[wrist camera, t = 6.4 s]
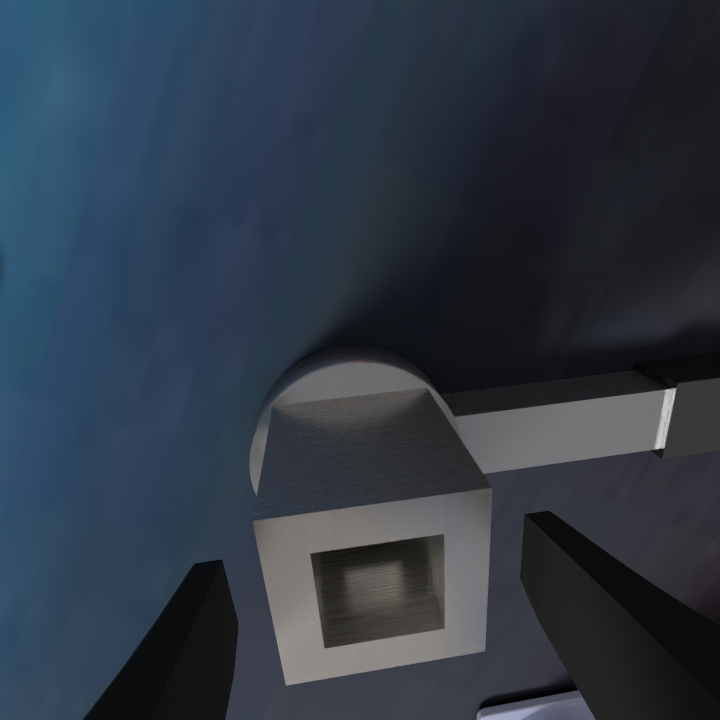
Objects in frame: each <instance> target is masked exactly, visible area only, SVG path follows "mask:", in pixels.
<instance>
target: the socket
mask: <svg viewBox="0 0 720 720" xmlns="http://www.w3.org/2000/svg"><path fill="white" fill-rule="evenodd" d="M491 508H492V486H491V485H490V483H489V482H488V480H487V479H486V477H485V476H484V474H483V473H482V471H481V469H480V468H479V466H478V465H477V463H476V462H475V460H474V459H473V457H472V456H471V454H470V453H469V451H468V450H467V448H466V446H465V445H464V443H463V442H462V440H461V439H460V437H459V436H458V434H457V433H456V431H455V430H454V428H453V426H452V425H451V423H450V422H449V420H448V419H447V417H446V416H445V414H444V413H443V411H442V410H441V408H440V407H439V405H438V403H437V402H436V400H435V399H434V397H433V396H432V394H431V393H430V391H429V390H428V388H420V389H412V390H403V391H395V392H386V393H378V394H369V395H360V396H352V397H343V398H335V399H326V400H318V401H309V402H301V403H292V404H284V405H275V406H272V412H271V418H270V423H269V429H268V435H267V440H266V446H265V452H264V457H263V463H262V469H261V475H260V480H259V486H258V492H257V497H256V503H255V509H254V514H253V520H252V522H253V527H254V532H255V537H256V542H257V546H258V551H259V556H260V561H261V566H262V571H263V576H264V581H265V585H266V590H267V595H268V600H269V605H270V610H271V615H272V619H273V624H274V629H275V634H276V639H277V644H278V649H279V653H280V658H281V663H282V668H283V673H284V678H285V683H286V685H292V684H297V683H303V682H309V681H315V680H321V679H327V678H332V677H338V676H344V675H350V674H356V673H361V672H367V671H373V670H379V669H385V668H391V667H396V666H402V665H408V664H414V663H420V662H425V661H431V660H437V659H443V658H449V657H455V656H460V655H466V654H472V653H478V652H484V651H485V642H486V619H487V597H488V575H489V553H490V530H491Z"/></svg>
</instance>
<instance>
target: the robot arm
mask: <svg viewBox="0 0 720 720" xmlns="http://www.w3.org/2000/svg"><path fill="white" fill-rule="evenodd" d="M520 579H521V581H522V584H523V586H524V588H525V591H526V593H527V595H528V598H529V600H530V602H531V605H532V607H533V609H534V611H535V613H536V616H537V618H538V620H539V622H540V624H541V626H542V628H543V629H544V631H545V633H546V635H547V636H548V638H549V640H550V642H551V643H552V645H553V647H554V649H555V650H556V652H557V654H558V656H559V657H560V659H561V661H562V663H563V664H564V666H565V668H566V670H567V671H568V673H569V675H570V676H571V678H572V680H573V682H574V683H575V685H576V687H577V688H578V690H577V691H572V692H566V693H561V694H556V695H550V696H545V697H540V698H534V699H529V700H524V701H518V702H513V703H508V704H502V705H497V706H492V707H487V708H483V709H481V710H480V711H479V712H478V714H477V720H720V626H719V625H717V624H715V623H714V622H712V621H710V620H709V619H707V618H705V617H704V616H702V615H701V614H699V613H697V612H696V611H694V610H693V609H691V608H689V607H688V606H686V605H685V604H683V603H682V602H680V601H678V600H677V599H675V598H674V597H672V596H670V595H669V594H667V593H666V592H664V591H663V590H661V589H660V588H658V587H657V586H655V585H654V584H652V583H651V582H649V581H648V580H646V579H645V578H643V577H642V576H640V575H639V574H637V573H636V572H634V571H633V570H631V569H630V568H629V567H627V566H626V565H624V564H623V563H621V562H620V561H618V560H617V559H616V558H614V557H613V556H611V555H610V554H609V553H607V552H606V551H604V550H603V549H602V548H600V547H599V546H597V545H596V544H595V543H593V542H592V541H590V540H589V539H588V538H586V537H585V536H584V535H582V534H581V533H579V532H578V531H577V530H575V529H574V528H572V527H571V526H570V525H568V524H567V523H566V522H564V521H563V520H561V519H560V518H559V517H557V516H556V515H554V514H553V513H551V512H550V511H544V512H537V513H530V514H525V517H524V531H523V545H522V560H521V574H520ZM237 635H238V620H237V616H236V612H235V608H234V604H233V600H232V596H231V592H230V588H229V584H228V580H227V577H226V573H225V569H224V565H223V561H222V560H216V561H209V562H202V563H195V564H194V565H193V567H192V568H191V569H190V571H189V572H188V574H187V575H186V577H185V578H184V580H183V581H182V583H181V584H180V586H179V587H178V589H177V590H176V592H175V593H174V595H173V596H172V598H171V599H170V601H169V602H168V604H167V605H166V607H165V608H164V610H163V611H162V613H161V614H160V616H159V617H158V619H157V620H156V621H155V623H154V624H153V626H152V627H151V629H150V630H149V632H148V633H147V634H146V636H145V637H144V639H143V640H142V641H141V643H140V644H139V646H138V647H137V648H136V650H135V651H134V653H133V654H132V655H131V657H130V658H129V660H128V661H127V662H126V664H125V665H124V667H123V668H122V669H121V671H120V672H119V673H118V675H117V676H116V677H115V678H114V680H113V681H112V682H111V684H110V685H109V686H108V688H107V689H106V690H105V692H104V693H103V694H102V695H101V697H100V698H99V699H98V701H97V702H96V703H95V705H94V706H93V707H92V709H91V710H90V711H89V712H88V714H87V715H86V716H85V717H84V719H83V720H225V717H226V712H227V707H228V702H229V697H230V691H231V686H232V681H233V676H234V666H235V657H236V646H237Z"/></svg>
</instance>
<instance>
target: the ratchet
mask: <svg viewBox="0 0 720 720" xmlns="http://www.w3.org/2000/svg"><path fill="white" fill-rule="evenodd" d="M420 388H428V390H429V391H430V393H431V394H432V396H433V397H434V399H435V400H436V402H437V403H438V405H439V407H440V408H441V410H442V411H443V413H444V414H445V416H446V417H447V419H448V420H449V422H450V423H451V425H452V426H453V428H454V430H455V431H456V433H457V434H458V436H459V437H460V439H461V440H462V442H463V443H464V445H465V446H466V448H467V450H468V451H469V453H470V454H471V456H472V457H473V459H474V460H475V462H476V463H477V465H478V466H479V468H480V469H481V471H482V473H483V474H484V473H491V472H499V471H506V470H513V469H520V468H527V467H534V466H541V465H548V464H555V463H562V462H569V461H576V460H583V459H590V458H598V457H605V456H612V455H619V454H626V453H633V452H640V451H647V450H651V451H652V452H653V453H655V454H656V455H658V456H659V457H660V458H662V459H665V458H672V457H678V456H685V455H692V454H699V453H706V452H713V451H720V353H712V354H704V355H696V356H688V357H680V358H671V359H663V360H655V361H647V362H639V363H635V367H634V370H632V371H624V372H616V373H608V374H600V375H592V376H584V377H576V378H568V379H560V380H551V381H543V382H535V383H527V384H519V385H511V386H503V387H495V388H487V389H479V390H471V391H463V392H455V393H447V394H439V393H438V391H437V390H436V388H435V387H434V385H433V384H432V382H431V381H430V380H429V379H428V377H427V376H426V375H425V374H424V373H423V372H422V371H421V370H420V369H419V368H418V367H417V366H416V365H415V364H413V363H412V362H410V361H409V360H407V359H406V358H404V357H402V356H400V355H398V354H396V353H394V352H391V351H388V350H385V349H382V348H377V347H372V346H362V345H349V346H340V347H334V348H329V349H326V350H323V351H320V352H317V353H315V354H312V355H310V356H308V357H306V358H304V359H302V360H301V361H299V362H298V363H296V364H294V365H293V366H292V367H291V368H289V369H288V370H287V371H286V372H284V374H283V375H282V376H281V377H280V378H279V379H278V380H277V381H276V382H275V383H274V385H273V386H272V388H271V389H270V390H269V392H268V394H267V396H266V398H265V399H264V401H263V404H262V407H261V409H260V412H259V416H258V420H257V424H256V429H255V433H254V437H253V442H252V447H251V452H250V476H251V481H252V485H253V488H254V491H255V494H256V496H257V492H258V486H259V480H260V475H261V469H262V463H263V457H264V452H265V446H266V440H267V435H268V429H269V423H270V418H271V412H272V406H275V405H284V404H292V403H301V402H309V401H318V400H326V399H335V398H343V397H352V396H360V395H369V394H378V393H386V392H395V391H403V390H412V389H420Z"/></svg>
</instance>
